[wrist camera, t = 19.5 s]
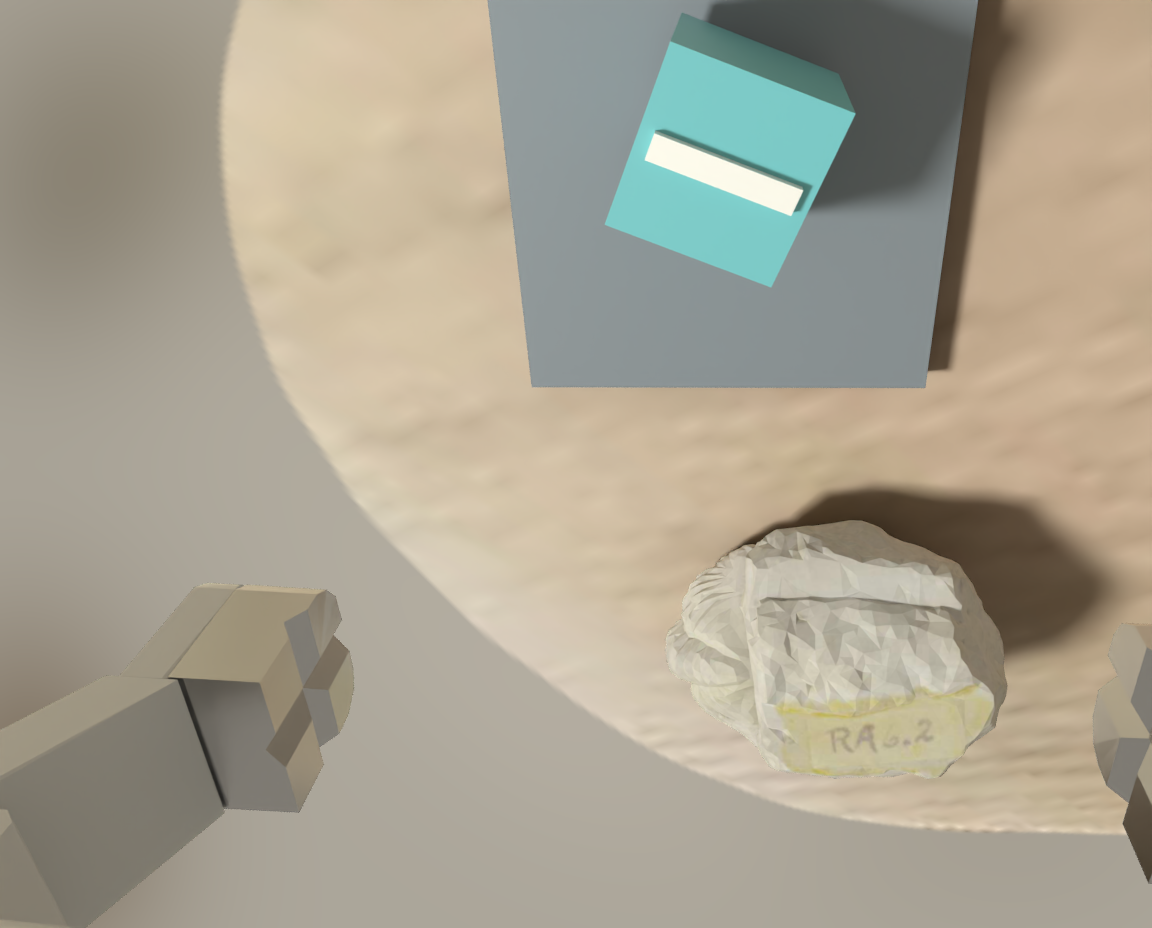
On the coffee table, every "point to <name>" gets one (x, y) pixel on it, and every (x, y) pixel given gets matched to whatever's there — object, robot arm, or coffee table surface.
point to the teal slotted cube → (730, 151)
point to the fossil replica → (842, 652)
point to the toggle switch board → (694, 288)
